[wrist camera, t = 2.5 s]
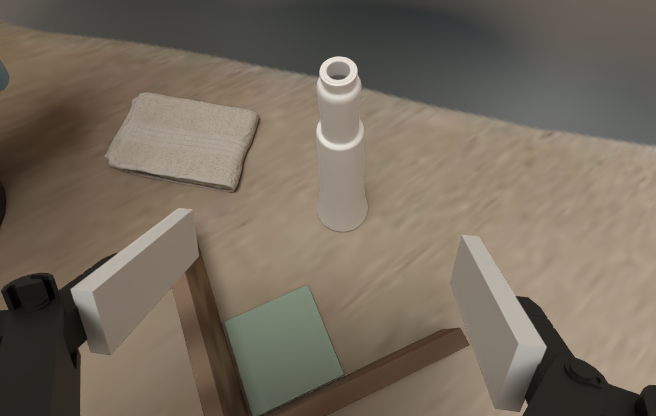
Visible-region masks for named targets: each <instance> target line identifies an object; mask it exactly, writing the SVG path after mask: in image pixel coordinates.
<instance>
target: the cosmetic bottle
mask: <svg viewBox="0 0 656 416" xmlns="http://www.w3.org/2000/svg"><path fill="white" fill-rule="evenodd" d="M317 96H318V104H319V113H320V121H319V123H318V125H317V129H316V138H317V157H318V171H319V200H318V204H317V213H318V216H319V218H320V220H321V222H322V223H323V224H324V225H325V226H326V227H328V228H330V229H331V230H334V231H338V232H347V231H351V230H353V229H355V228H357V227H358V226H360V225H361V224H362V223H363V221H364V220H365V218H366V216H367V212H368V203H367V200H366V197H365V189H364V126H363V123H362V121H361V120H360V119H359V117H360V100H361V81H360V79H359V77H358V75H357V67H356V65H355V63H354V62H353V61H351V60H350V59H348V58H345V57H333V58H330V59H328V60H326V61H325V62H324V63H323V64H322V66H321V68H320V77H319V79H318V82H317Z"/></svg>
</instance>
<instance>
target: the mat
mask: <svg viewBox="0 0 656 416" xmlns="http://www.w3.org/2000/svg"><path fill="white" fill-rule="evenodd" d="M225 326H226V329H227V332H228V336H229V339H230V343H231V346H232V349H233V353H234V356H235V359H236V363H237V366H238V369H239V373H240V376H241V380H242V383H243V386H244V390H245V393H246V396H247V400H248V403H249V406H250V410H251V413H252V416H259V415H261V414H263V413H265V412H267V411H269V410H271V409H273V408H275V407H278V406H280V405H282V404H284V403H286V402H288V401H290V400H292V399H294V398H296V397H298V396H300V395H302V394H305V393H307V392H309V391H311V390H313V389H315V388H317V387H319V386H321V385H323V384H325V383H327V382H329V381H332V380H334V379H336V378H338V377H340V376H342V375H344V373H343V370H342V368H341V365H340V363H339V360H338V358H337V356H336V353H335V351H334V348H333V346H332V343H331V341H330V338H329V336H328V333H327V331H326V328H325V326H324V323H323V321H322V319H321V316H320V314H319V311H318V309H317V306H316V304H315V301H314V299H313V296H312V294H311V291H310V289H309V286H308V285H306V286H303V287H301V288H299V289H297V290H294V291H292V292H290V293H288V294H285V295H283V296H281V297H279V298H276V299H274V300H272V301H270V302H267V303H265V304H263V305H261V306H258V307H256V308H254V309H252V310H249V311H247V312H245V313H243V314H240V315H238V316H236V317H234V318H231V319H229V320H227V321H225Z"/></svg>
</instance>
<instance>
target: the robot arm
mask: <svg viewBox="0 0 656 416" xmlns="http://www.w3.org/2000/svg"><path fill="white" fill-rule="evenodd" d="M8 82H9V74H8V71H7V69H6V67H5V66H4V65H3V63H2V62H1V60H0V92H1V91H2V90H4V89H5V88H6V86H7V85H8ZM4 208H5V194H4V190H3V187H2V185H1V183H0V222H1V220H2V217H3V213H4ZM198 257H199V253H198V245H197V237H196V229H195V221H194V214H193V209H183V208H178V209H176V210H175V211H174V212H173V213H171V214H170V215H169V216H167V217H166V218H165V219H163V220H162V221H161V222H159V223H158V224H157V225H155V226H154V227H153V228H151V229H150V230H149V231H147V232H146V233H145V234H143V235H142V236H141V237H139V238H138V239H137V240H135V241H134V242H133V243H131V244H130V245H129V246H127V247H126V248H125V249H123V250H122V251H121V252H119V253H115V254H112V255H110V256H108V257H106V258H103V259H102V260H100V261H99V262H97V263H96V264H95V265H93V266H92V268H89V269H88V270H86V271H85V272H84V274H81V275H80V276H78V277H77V278H75V279H74V280H73V281H71V282H70V283H69V284H67V285H66V286H64V287H63V288H62V289H60V290H59V291H58V288H57V285H56V282H55V279H54V277H53V275H51V274H49V273H36V274H30V275H27V276H23V277H20V278H18V279H16V280H14V281H12V282H10V283H9V284H7V285H6V286H4V288H3V289H2V290H1V293H2V295H3V297H4V300H5V302H6V304H7V307H8V309H9V310H3V311H0V416H80V364H81V355H80V352H79V349H78V348H79V347H80V346H81V345H82V344H83V343H84V342H85V341H86V340H87V342H88V345H89V348H90V351H91V352H92V353H99V354H106V355H111V354H112V353H113V352H114V351H115V350H116V349H117V348H118V347H119V345H120V344H121V343H122V342H123V341H124V340H125V339H126V338H127V336H128V335H129V334H130V333H131V332H132V331H133V330H134V329H135V327H136V326H137V325H138V324H139V323H140V322H141V321H142V320H143V319H144V317H145V316H146V315H147V314H148V313H149V312H150V311H151V310H152V308H153V307H154V306H155V305H156V304H157V303H158V302H159V301H160V299H161V298H162V297H163V296H164V295H165V294H166V293H167V292H168V290H169V289H170V288H171V287H172V286H173V285H174V284H175V283H176V282H177V280H178V279H179V278H180V277H181V276H182V275H183V274H184V273H185V271H186V270H187V269H188V268H189V267H190V266H191V265H192V264H193V262H194V261H195V260H196V259H197V258H198ZM450 285H451V287H452V290H453V293H454V296H455V299H456V301H457V304H458V307H459V310H460V313H461V315H462V318H463V321H464V324H465V327H466V329H467V332H468V335H469V338H470V341H471V344H472V346H473V349H474V352H475V355H476V358H477V360H478V363H479V366H480V369H481V372H482V374H483V377H484V380H485V383H486V386H487V388H488V391H489V394H490V397H491V400H492V402H493V405H494V408H495V409H501V410H508V411H516V412H520V410H521V408H522V405H523V403H524V401H525V399H526V402H527V404H528V407H527V408H526V410H525V412H524V414H523V416H656V385H648V386H647V387H645V388H644V389H643V390H642V392H641V394H640V395H639V394H636V393H633V392H630V391H627V390H625V389H622V388H619V387H616V386H613V385H611V384H608V383H607V381H606V379H605V378H604V376H603V375H602V374H601V373H600V372H599V371H598V370H597V369H596V368H594V367H593V366H591V365H590V364H588V363H587V362H585V361H582V360H580V359H578V358H575V357H574V355H573V354H572V353H571V351H570V350H569V348H568V347H567V345H566V344H565V342H564V341H563V340H562V338H561V337H560V335H559V334H558V332H557V331H556V329H555V328H553V325H552V324H551V322H550V321H549V320H548V319H547V316H546V315H545V313H544V312H543V311H542V309H541V308H540V307H539V306H538V305H537V304H536V303H534V302H533V301H532V300H531V299H529V298H528V297H520V296H515V295H514V293H513V292H512V290H511V288H510V287H509V285H508V284H507V282H506V280H505V279H504V277H503V275H502V274H501V272H500V271H499V269H498V267H497V266H496V264H495V262H494V261H493V259H492V258H491V256H490V254H489V253H488V251H487V249H486V248H485V246H484V245H483V243H482V241H481V240H480V238H479V236H469V235H461V239H460V244H459V248H458V252H457V256H456V261H455V265H454V269H453V273H452V278H451V282H450Z"/></svg>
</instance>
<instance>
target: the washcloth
mask: <svg viewBox="0 0 656 416" xmlns="http://www.w3.org/2000/svg"><path fill="white" fill-rule="evenodd" d="M131 103H132V106H131V109H130V111H129V114H128V116H127V117H126V119H125V120H124V122H123V124H122V126H121V128H120V129H119V131H118V133H117V135H116V136H115V138H114V139H113V141H112V144H111V145H110V148H109V150H108V151H107V153H106V154H105V158H106V159H108V160H109V161H108V165H109V166H111V167H114V168H118V169H121V170H123V171H125V172H130V173H134V174H135V175H138V176H144V177H148V178H153V179H159V180H164V181H169V182H174V183H180V184H185V185H191V186H198V187H202V188H207V189H212V190H217V191H222V192H234V191H235V189H236V187H237V186H238V182H239V179H240V175H241V172H242V166H243V165H242V163H243V160H244V158H245V155H246V153H247V150H248V148H249V147H250V145H251V143H252V140H253V136H254V133H255V131H256V127H257V123H258V120H259V116H258V114H257V113H256V112H254V111H251V110H250V109H249V110H248V109H247V110H245V109H242V108H237V107H236V108H234V107H232V106H230V107H226V106H224V105H217V104H212V103H206V102H203V101H193V100H189V99H185V98H184V99H182V98H175V97H171V96H165V95H159V94H155V93H148V92H145V93H140V94H139V96H138V97H136V98H134V99H133V100H132V102H131Z"/></svg>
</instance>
